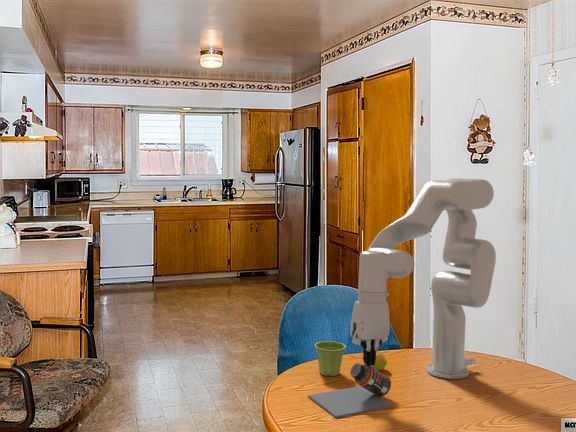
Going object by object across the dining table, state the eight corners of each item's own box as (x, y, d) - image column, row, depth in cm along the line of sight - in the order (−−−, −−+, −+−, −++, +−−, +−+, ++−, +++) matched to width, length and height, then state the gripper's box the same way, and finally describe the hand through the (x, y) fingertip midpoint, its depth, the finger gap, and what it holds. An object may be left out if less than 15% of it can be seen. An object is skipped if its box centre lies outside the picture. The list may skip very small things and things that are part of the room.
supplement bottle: (394, 390, 157) (364, 373, 153) (378, 401, 160) (348, 384, 155) (390, 373, 162) (361, 355, 158) (374, 383, 165) (346, 367, 160)
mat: (360, 388, 167) (360, 386, 167) (392, 407, 153) (392, 405, 153) (308, 397, 159) (308, 395, 159) (335, 418, 146) (335, 415, 146)
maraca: (369, 374, 178) (369, 357, 178) (358, 364, 188) (359, 348, 187) (390, 373, 179) (391, 356, 179) (379, 363, 189) (379, 347, 189)
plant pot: (328, 366, 186) (328, 339, 185) (351, 373, 179) (351, 345, 178) (307, 372, 179) (308, 345, 178) (331, 380, 172) (331, 352, 172)
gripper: (386, 292, 164) (384, 357, 165) (340, 295, 157) (338, 362, 158) (403, 298, 157) (400, 365, 158) (355, 301, 150) (353, 371, 151)
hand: (369, 363), depth 158 cm, fingers closed
